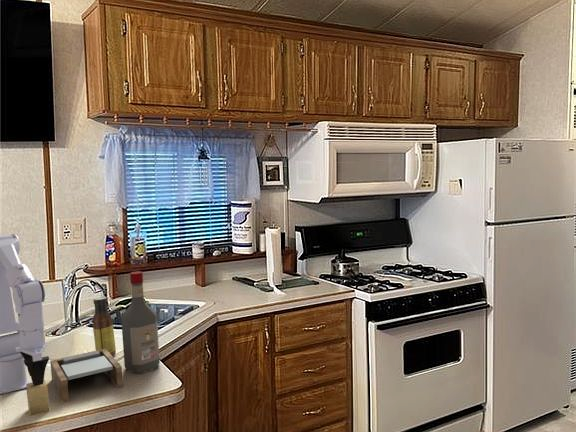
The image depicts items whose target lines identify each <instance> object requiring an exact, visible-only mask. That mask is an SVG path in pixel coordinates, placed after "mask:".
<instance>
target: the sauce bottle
mask: <svg viewBox="0 0 576 432" xmlns="http://www.w3.org/2000/svg"><path fill="white" fill-rule="evenodd" d="M107 301H108V299H107V297H106V296H97V297H95V298H93V304H94V314H93V317H92V329H93V330H92V331H93V338H94V340H93V341H94V347H95V351H97V350H102V349H106V350H107V351H108V352H109V353H110V354H111V355H112V356H113V357H114V355H115V356H116V354H117V353H116V349H117V348H116V347H117V346H116V340H115V331H114V324H113V323H114V322H113V319H112V316H111V315H110V313H109V311H108V305H107Z"/></svg>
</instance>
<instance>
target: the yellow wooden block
mask: <svg viewBox="0 0 576 432" xmlns="http://www.w3.org/2000/svg"><path fill="white" fill-rule="evenodd" d="M26 387H27V388H26V396H27V397H26V398H27V407H28V412H29V416H30V417H33V416H37V415H40V414H43V413H44V414H45V413H48V412H50V405H49V404H50V403H49V392H48V390H49V389H48V383H47V382H46V380H45V379H44V381H43V384H42V385H37V386H34V385H33V382H32V381H31V382H29V383H28V384H26Z"/></svg>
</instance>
